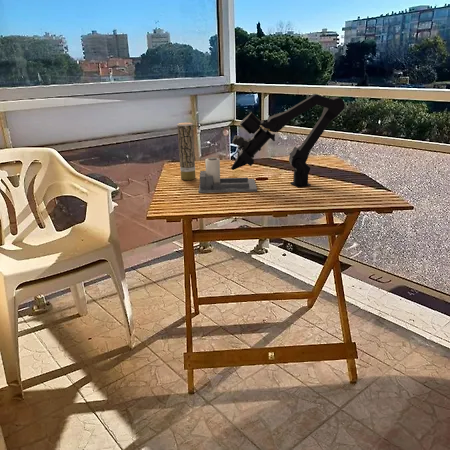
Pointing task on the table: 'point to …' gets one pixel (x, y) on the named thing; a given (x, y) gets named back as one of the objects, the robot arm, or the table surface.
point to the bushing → (213, 169)
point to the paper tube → (186, 150)
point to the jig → (225, 184)
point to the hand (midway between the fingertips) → (231, 169)
